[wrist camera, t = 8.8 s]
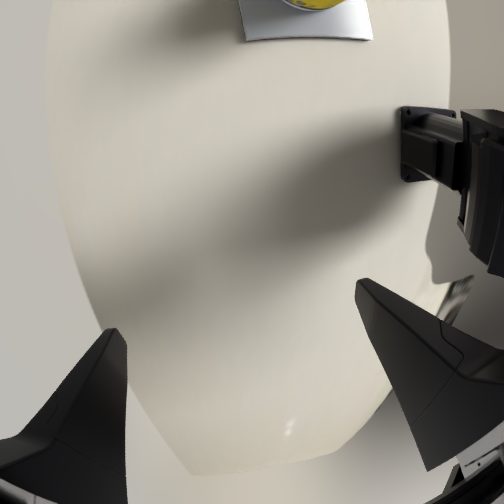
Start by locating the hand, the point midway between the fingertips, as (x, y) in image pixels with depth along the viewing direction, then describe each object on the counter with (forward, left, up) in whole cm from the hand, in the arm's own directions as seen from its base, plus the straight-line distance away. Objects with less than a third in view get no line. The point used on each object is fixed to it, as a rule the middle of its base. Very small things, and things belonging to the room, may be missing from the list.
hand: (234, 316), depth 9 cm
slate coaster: (-8, -15, -12) cm, 21 cm away
